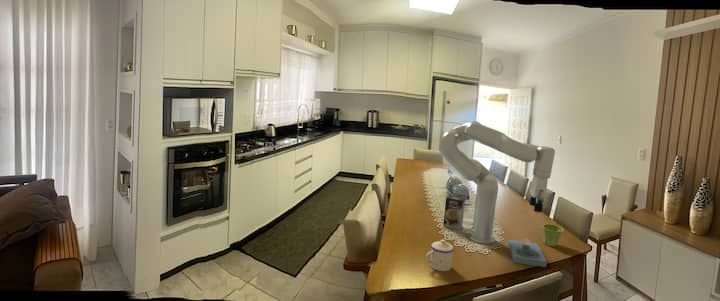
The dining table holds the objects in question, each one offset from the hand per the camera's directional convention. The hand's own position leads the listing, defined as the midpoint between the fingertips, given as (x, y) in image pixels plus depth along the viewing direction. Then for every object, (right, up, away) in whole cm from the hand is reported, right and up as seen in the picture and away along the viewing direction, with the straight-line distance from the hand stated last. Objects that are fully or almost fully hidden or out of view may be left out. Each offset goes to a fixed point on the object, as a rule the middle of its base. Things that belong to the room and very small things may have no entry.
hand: (535, 208), depth 178 cm
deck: (-7, -20, -5) cm, 22 cm away
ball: (-6, -15, -4) cm, 17 cm away
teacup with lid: (-50, -21, -22) cm, 59 cm away
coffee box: (-33, -14, +25) cm, 43 cm away
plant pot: (+11, -19, +9) cm, 24 cm away
